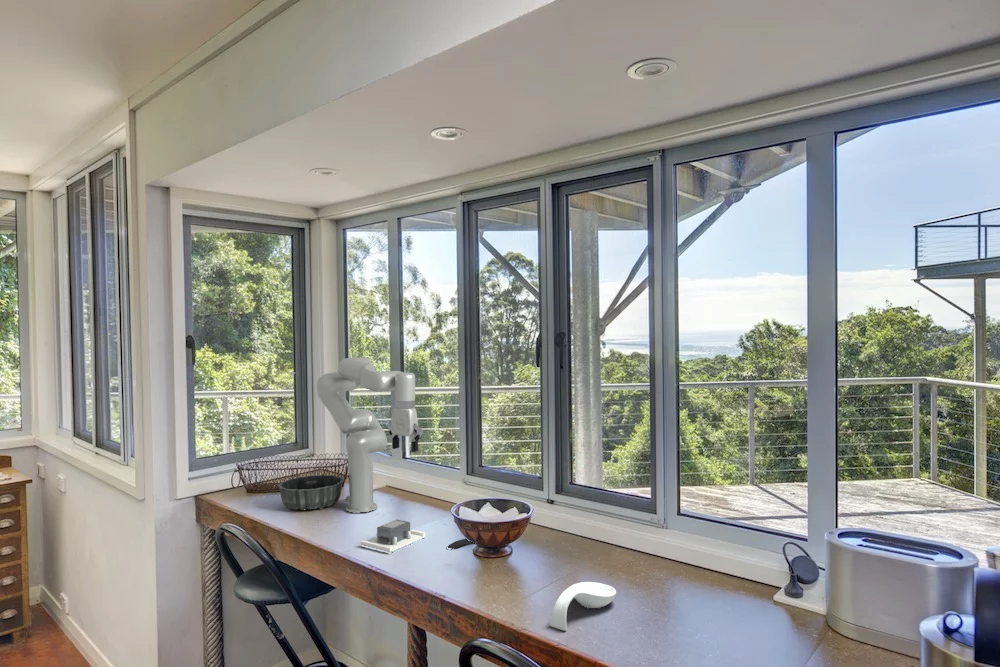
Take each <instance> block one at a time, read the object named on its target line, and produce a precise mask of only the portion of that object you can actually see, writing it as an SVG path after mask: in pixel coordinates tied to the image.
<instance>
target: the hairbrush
mask: <svg viewBox="0 0 1000 667" xmlns="http://www.w3.org/2000/svg"><path fill="white" fill-rule="evenodd" d="M466 544H470V542H469V541H468V540H467V539H466V538H462V539H458V540H456V541H454V542H452V543H449V544H448V545H447V547H448V548H456V549H458V548H460V547H462V546H464V545H466ZM457 547H458V548H457Z"/></svg>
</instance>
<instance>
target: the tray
mask: <svg viewBox="0 0 1000 667" xmlns="http://www.w3.org/2000/svg"><path fill="white" fill-rule="evenodd" d="M424 537H425V538H426V532H425V531H421V530H417V529H412V528H410V531H408V538H406V539H404V540H401V541H399V542H397V537H394V544H392V545H387V544H383V543H379V542H377V537H375V538H373V539H371V540H370V539H369V540H361V541H360V546H361V545H364V546H368V547H372V548H376V549H380V550H384V551H387V552H391V551H394V550H396V549H398V548H401V547H403V546H405V545H408V544H410V543H412V542H414V541H417V540H419V539H422V538H424ZM422 540H423V539H422Z"/></svg>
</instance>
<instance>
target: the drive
mask: <svg viewBox="0 0 1000 667" xmlns="http://www.w3.org/2000/svg"><path fill="white" fill-rule="evenodd" d="M410 529H411V522H410V521H406V520H402V519H395V520H393V521H389V522H388V523H385V524H382V525H380V526H378V527H377V528H376V538H377V542H379V543H383V544H387V545H392V544H394V537H397V542H399V541H401V540H404V539H406V538H408V531H410Z"/></svg>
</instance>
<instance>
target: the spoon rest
mask: <svg viewBox="0 0 1000 667" xmlns="http://www.w3.org/2000/svg"><path fill="white" fill-rule="evenodd" d="M616 595H617V590H616V589H615V588H614V587H613V586H611V585H608V584H605V583H601V582H594V581H583V582H578V583H574V584H572V585H571V586H569V587H567V588H566V589H565V590H563V591H562V592H561V594H560V595H559V597H558V598H557V600H556V602H555V604H554V605H553V609H552V610H551V614H550V618H549V626H550V627H551V628H554V629H558V630H561V631H563V632H564V631H565V632H566V631H567V630H568V626H567V624H568V623H567V614H568V613H567V612H568V608H569V605H570V604H571V602H572V601H573V600H574V599H575V600H576V601H577V602H578V603H579V604H580V605H581V606H582V607H583V606H584V608H586V607H587V608H586V609H589V608H598V609H602V608H603V607H605V606H607V605H610V603H611V602H612V601H613V600H614V598H615V597H616ZM601 607H602V608H601Z"/></svg>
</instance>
